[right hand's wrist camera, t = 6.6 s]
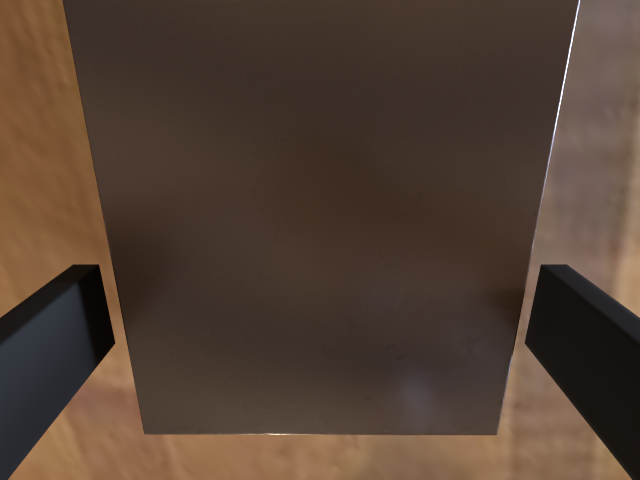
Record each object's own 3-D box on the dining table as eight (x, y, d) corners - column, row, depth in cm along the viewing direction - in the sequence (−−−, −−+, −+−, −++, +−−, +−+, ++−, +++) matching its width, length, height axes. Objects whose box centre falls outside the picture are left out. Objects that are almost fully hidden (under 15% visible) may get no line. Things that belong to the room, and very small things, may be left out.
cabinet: (156, -271, 13) (-95, -818, 5) (486, -272, 13) (738, -822, 5) (213, 299, 21) (143, 435, 12) (428, 299, 21) (498, 436, 12)
